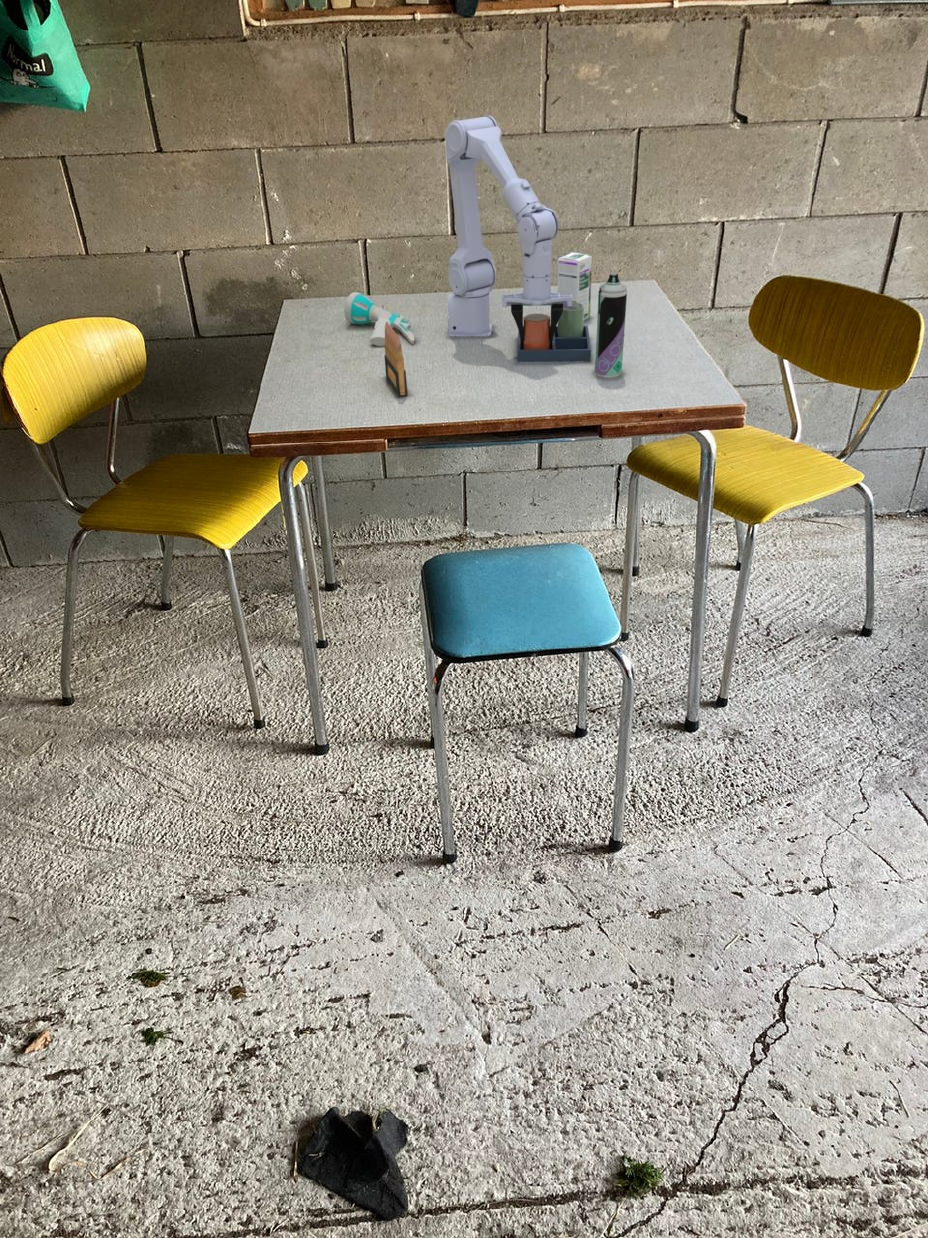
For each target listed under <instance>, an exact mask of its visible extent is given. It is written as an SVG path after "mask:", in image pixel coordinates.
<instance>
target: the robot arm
mask: <svg viewBox="0 0 928 1238" xmlns="http://www.w3.org/2000/svg"><path fill="white" fill-rule="evenodd" d="M443 135H444V144H445V152H446V153H445V154H446V161H447V164H448V167H449V177H450V184H451V185H450V186H451V193H452V202H453V204H452V205H453V211H454V220H455V221H454V222H455V229H456V230H455V231H456V238H457V250H456V251H455V252H453V255H452V256H450V258H449V259H448V263H449V271H448V284H449V287H450V289H451V290H452V292H450V293H448V298H447V300H448V301H447V308H448V309H447V310H448V318H447V326H448V332H449V334H448V336H449V337H489V336H492V329H493V324H492V323H491V322H490V293H491V292H493V287H494V286H495V284H496V282H497V280H498V279H497V277H498V272H497V268H496V266H495V262H494V259H493V258H494V257H493V253H492V252H491V251H490V250H488V249H487V248H486V247H485V246H484V245H483V237H482V227H481V226H482V225H481V216H480V209H479V208H480V207H479V198H478V187H477V175H476V167H477V165H478V164H479V162H480V161H481V160H482V161H484V163H485V164H486V165H487V167H488V169H489V170H490V171H491V172H492V174H493V175H494V177H495V179H497V181H498V182H499V184H500V185H501V187H502V188H503V191H502V199H503V201H504V202H505V204H506V206H507V208H508V209H509V211H510V213H511V214H512V216H513V217H514V219H515V220H516V223H517V224H518V226H516V233H517V236H518V238H519V242H520V250H521V252H522V254H523V255H522V256H523V257H522V259H523V260H522V261H523V262H522V265H523V266H522V267H523V268H522V269H523V271H522V274H523V275H522V287H523V288H522V292H521V293H513V294H502V295H501V308H507V307H510V312H511V315H512V317H513V320H514V322H515V324H516V327H517V331H518V330H519V334H520V341H524V333H523V323H524V307H537V306H539V307H540V306H542V307H543V306H546V307H547V306H550V341H553V336H554V332H555V329H556V326H558V321H559V319H560V317H561V315H562V312H563V305H567V306H572V294H558V292H556V293H555V292H552V261H553V260H552V259H553V258H552V254H553V251H552V250H553V240H554V239H555V238H556V237H557V235H558V232H559V220H558V217H557V215H556V213H555V211H554V210H552V209H551V208H548V207H547V206H546V205H544V204H542V203H541V201H540V200H539V198H538V196H537V195H536V193H535V192H534V189H533V188H532V186H531V184H530V183H529V181H528V180H527V179H525V178H520V177H518V175H517V172H516V170H515V167H514V166H513V163H511V160H510V159H509V156H508V154H507V152H506V150H505V148H504V146H503V144H502V129H501V128H500V127H499V124H498V123H497V120H496V119H495V118H494V117H493V116H492V115H484V116H480V117H474V118H466V119H461V120H459V119H455V120H454V119H453V120H452V121H450V122H449V124H448V125H447V128H446V130H445V131H444V134H443Z"/></svg>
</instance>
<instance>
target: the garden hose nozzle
mask: <svg viewBox="0 0 928 1238" xmlns="http://www.w3.org/2000/svg"><path fill="white" fill-rule="evenodd" d="M343 312H344V318H345V320H346V322H347V323H350V324H353V325H367V324H370V323H371V322H375V323H374V327H373V328H374V329H373V330H372V334H371V336H370V343H371V344H373V345H374V346H378V347H385V324H386V322H388V324H389V325H390V327H392V328H396V329H397V330H399V331H400V333H401V334H402V335H403V336H404V337H405V338H406V340H407V341H408V342H409V343H410V345H414V344H415V338H416V337H415V334H414V333H413V332H412V331H411V330H410V329H411V321H410V320H409V319H406V318H405V316H404V315H401V314H395V313H392V312H389V311H388V310H387V311H386V310H385V309H382V308H380V307H378V305H376V304H375V302H374V301H373V299H371V298H370V297H369V296H366V295H364V294H363V293H361V292H357V291H353V292H351V293H350V294H349V295H348V297H347V299H346V300H345V303H344V310H343Z"/></svg>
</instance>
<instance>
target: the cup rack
mask: <svg viewBox="0 0 928 1238" xmlns="http://www.w3.org/2000/svg"><path fill="white" fill-rule="evenodd" d="M557 330H558V325H557V326H556V329H555V332H554V336H553V341H550V350H523V341H520V334H519V330H518V329H517V350H516V351H517V352H516V353H517V354H516V355H517V357H516V358H517V362H516V363H549V362H550V363H559V362H561V363H563V362H564V363H565V362H566V363H567V362H570V363H571V362H572V363H573V362H574V363H575V362H577V363H578V362H591V360H592V348H591V340H590V332H589V326H588V325H583V337H559V338H557Z"/></svg>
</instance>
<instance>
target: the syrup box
mask: <svg viewBox="0 0 928 1238" xmlns="http://www.w3.org/2000/svg"><path fill="white" fill-rule="evenodd" d="M592 260H593V256H592V255H591V254H588V253H583V252H572V251H571V252H570V253H568V254H566V255H563V256H560V257H558V258H557V293H558V294H572V302H574V303H580V304H583V305H584V320H587V319H588V318H591V299H592V297H591V296H592V295H591V293H592V264H593V263H592Z"/></svg>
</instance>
